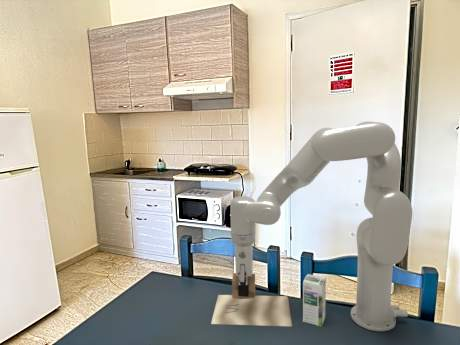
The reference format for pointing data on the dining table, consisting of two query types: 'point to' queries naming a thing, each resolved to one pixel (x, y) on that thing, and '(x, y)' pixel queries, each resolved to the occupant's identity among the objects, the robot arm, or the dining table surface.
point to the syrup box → (314, 299)
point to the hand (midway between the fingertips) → (244, 290)
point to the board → (252, 311)
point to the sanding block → (235, 287)
